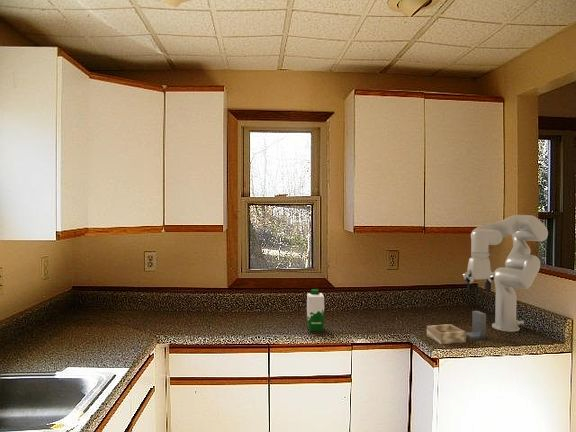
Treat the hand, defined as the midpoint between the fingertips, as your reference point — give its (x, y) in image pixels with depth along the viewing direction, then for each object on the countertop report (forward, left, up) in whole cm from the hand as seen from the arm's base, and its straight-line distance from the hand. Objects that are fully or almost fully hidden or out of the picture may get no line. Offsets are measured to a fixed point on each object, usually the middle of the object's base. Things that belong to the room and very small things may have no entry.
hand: (479, 290), depth 193 cm
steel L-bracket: (+2, 0, -23) cm, 23 cm away
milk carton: (+74, -28, -23) cm, 83 cm away
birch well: (+17, -1, -23) cm, 28 cm away
